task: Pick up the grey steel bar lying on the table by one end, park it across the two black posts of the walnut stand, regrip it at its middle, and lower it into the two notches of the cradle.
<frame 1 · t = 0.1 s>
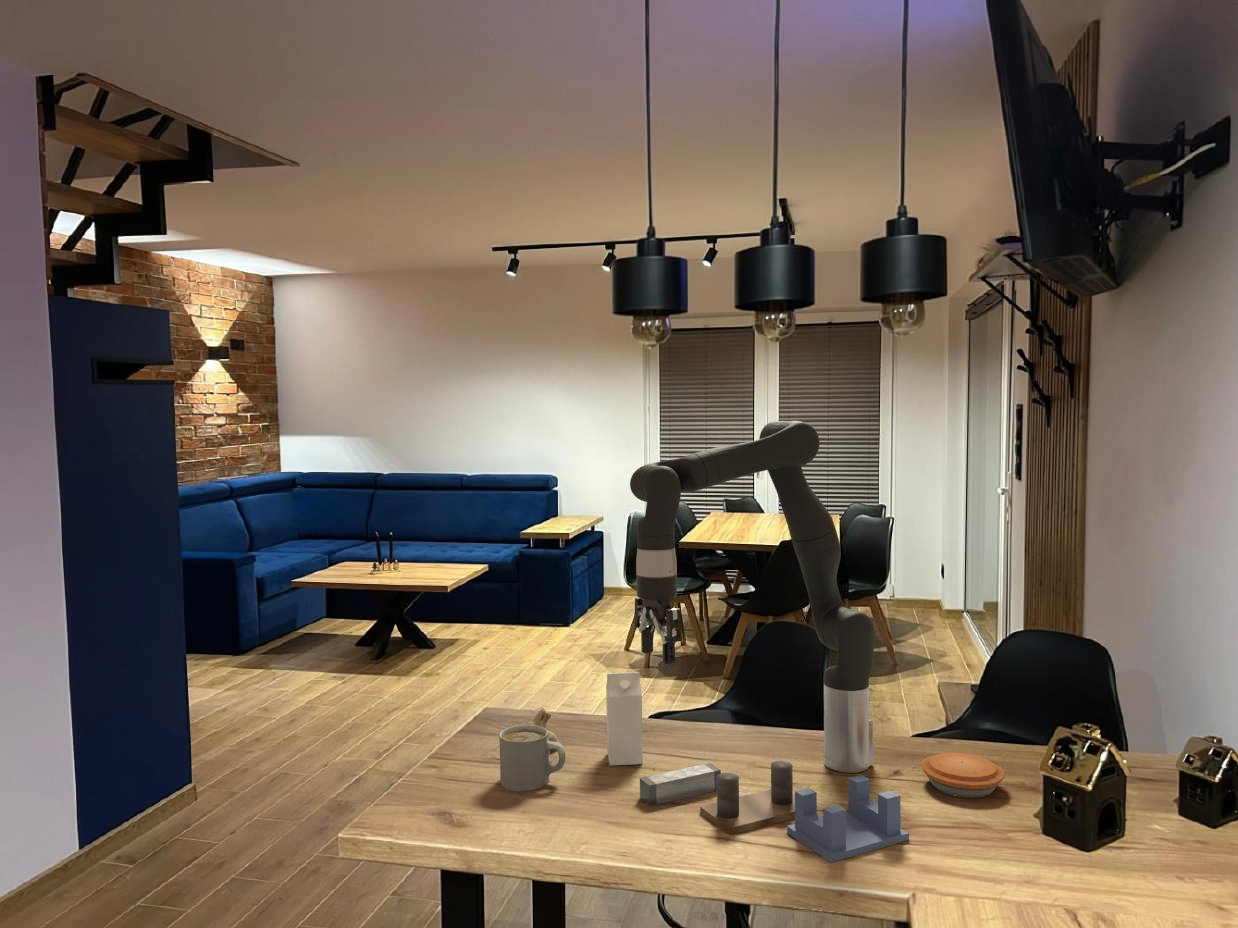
hand: (657, 657, 165), 29 cm above the table, tool pointing down, fingers open, 8 cm apart
steel bar: (680, 793, 173), on the table
milk carton: (624, 759, 191), on the table
pie: (962, 787, 174), on the table
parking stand: (755, 812, 164), on the table
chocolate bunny: (543, 751, 196), on the table
notched cradle: (847, 835, 154), on the table
coffee mug: (532, 782, 179), on the table
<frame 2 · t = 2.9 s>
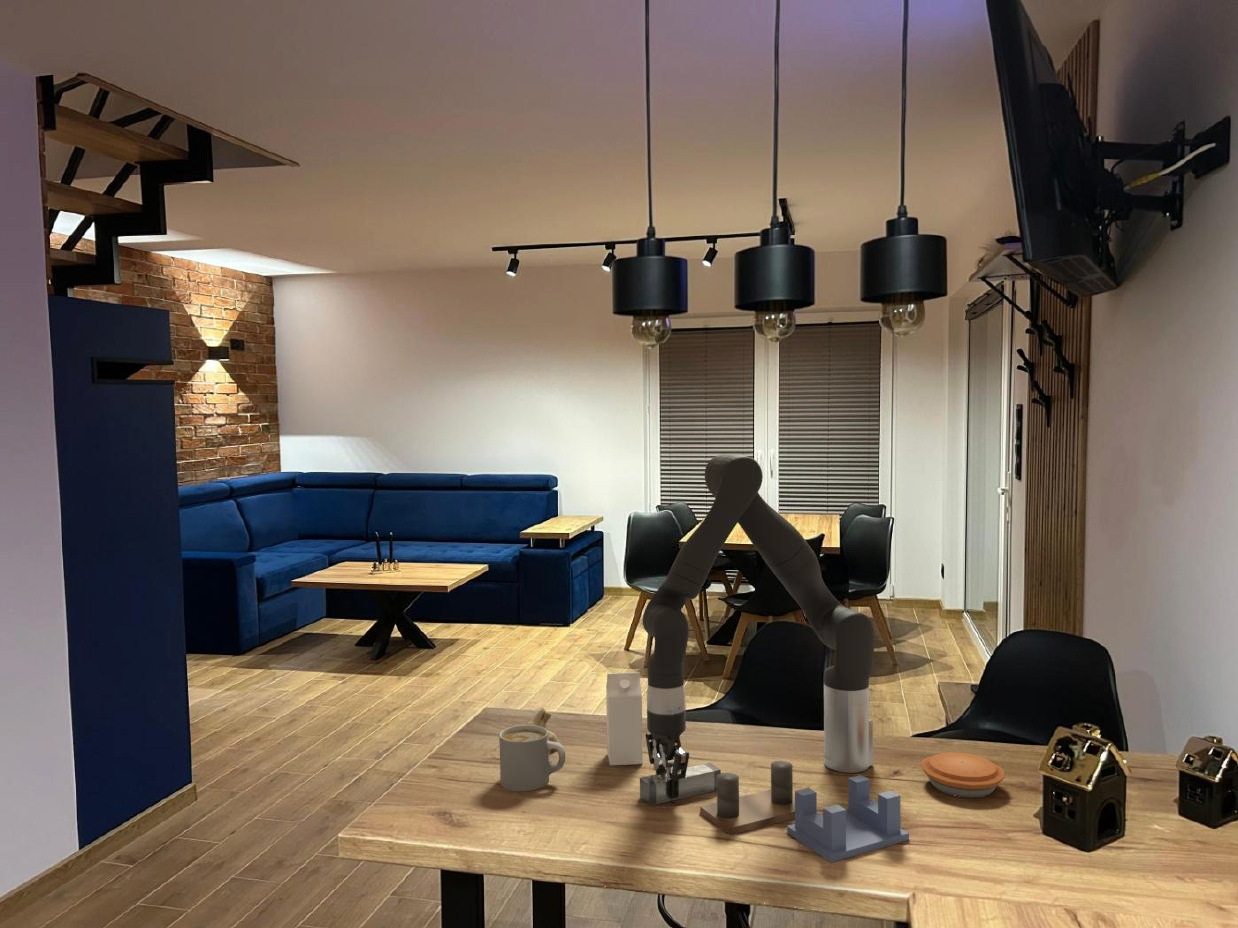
hand: (667, 792, 171), 1 cm above the table, tool pointing down, fingers closed on steel bar, 4 cm apart
steel bar: (680, 793, 173), on the table, touching gripper
everything else where it was.
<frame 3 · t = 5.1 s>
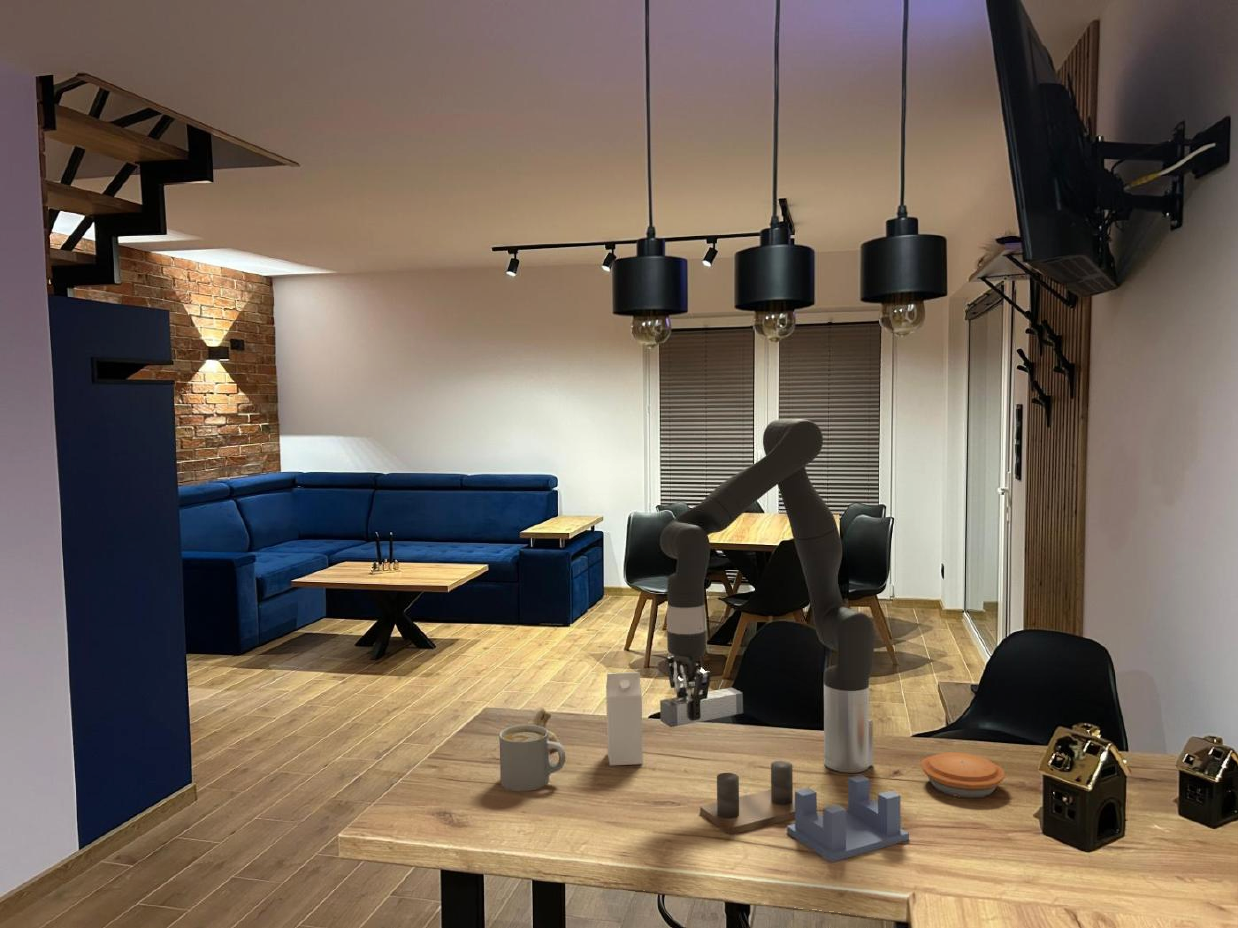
hand: (688, 715, 168), 17 cm above the table, tool pointing down, fingers closed on steel bar, 4 cm apart
steel bar: (702, 716, 170), point 16 cm above the table, touching gripper
everything else where it was.
when the fingers open (10 cm above the table, at t = 7.4 s): steel bar drops 1 cm, resting on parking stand.
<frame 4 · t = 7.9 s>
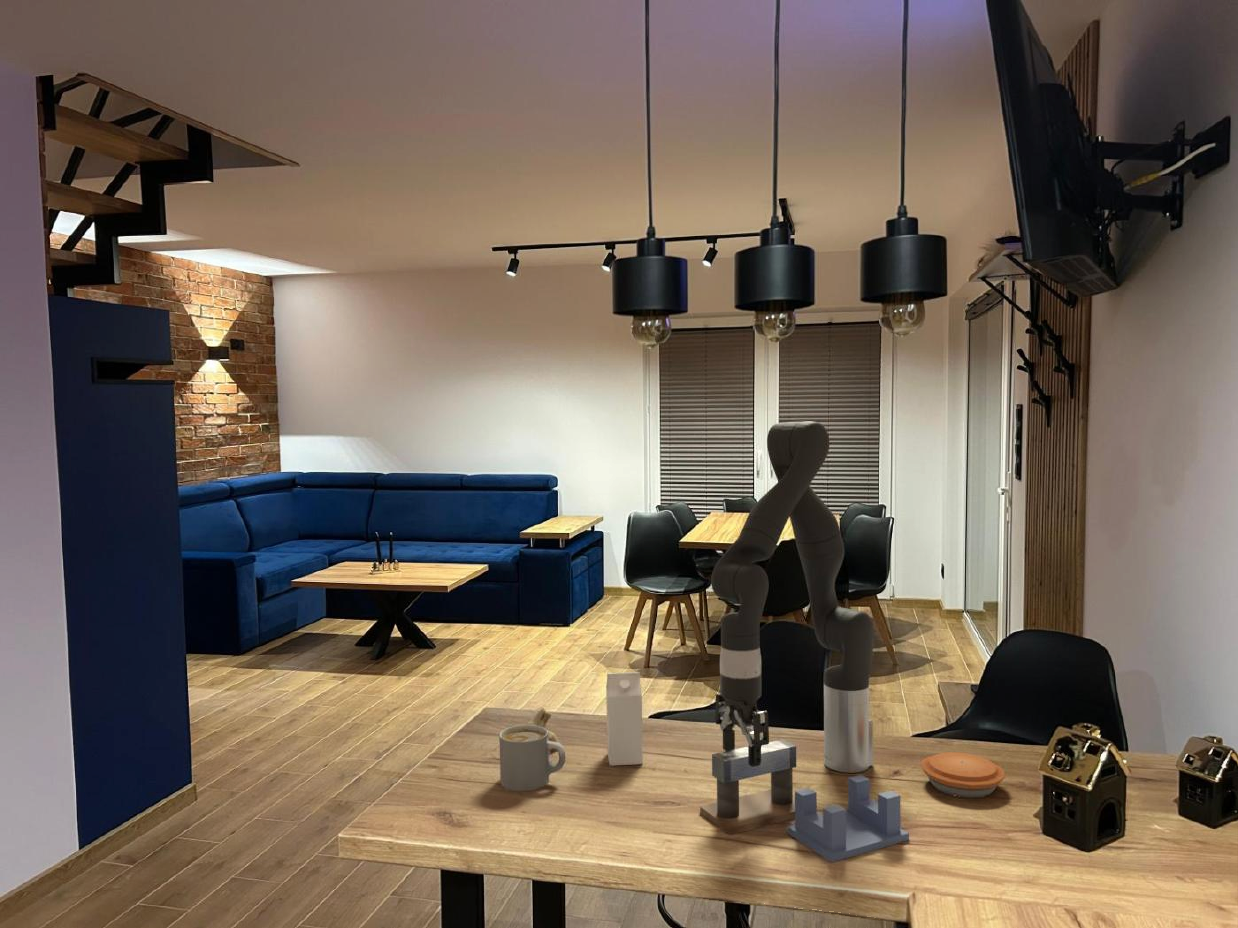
hand: (741, 757, 162), 11 cm above the table, tool pointing down, fingers open, 8 cm apart
steel bar: (754, 771, 163), point 8 cm above the table, touching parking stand
everything else where it was.
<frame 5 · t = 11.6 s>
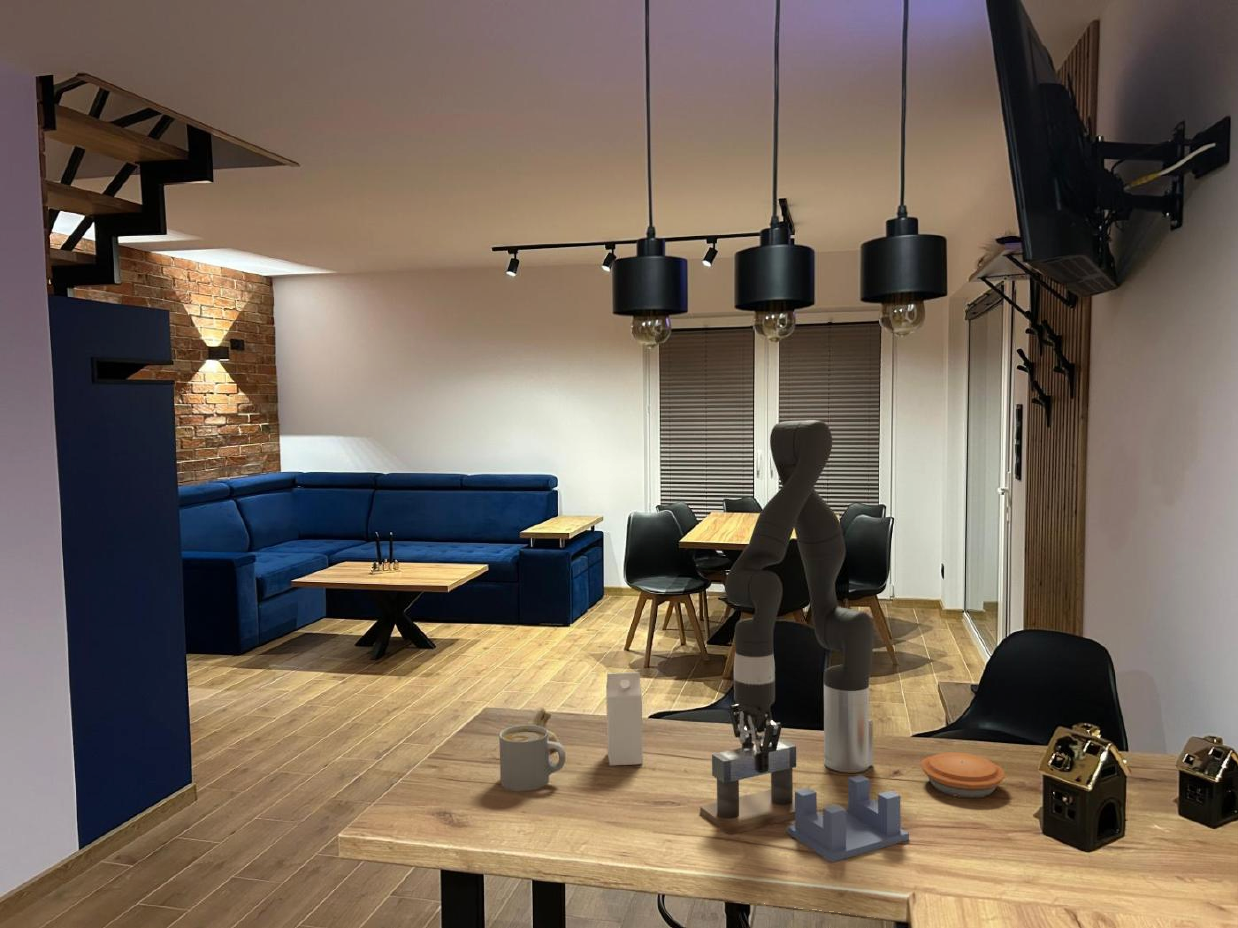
hand: (755, 766, 163), 9 cm above the table, tool pointing down, fingers closed on steel bar, 4 cm apart
steel bar: (754, 771, 163), point 8 cm above the table, touching gripper, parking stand
everything else where it was.
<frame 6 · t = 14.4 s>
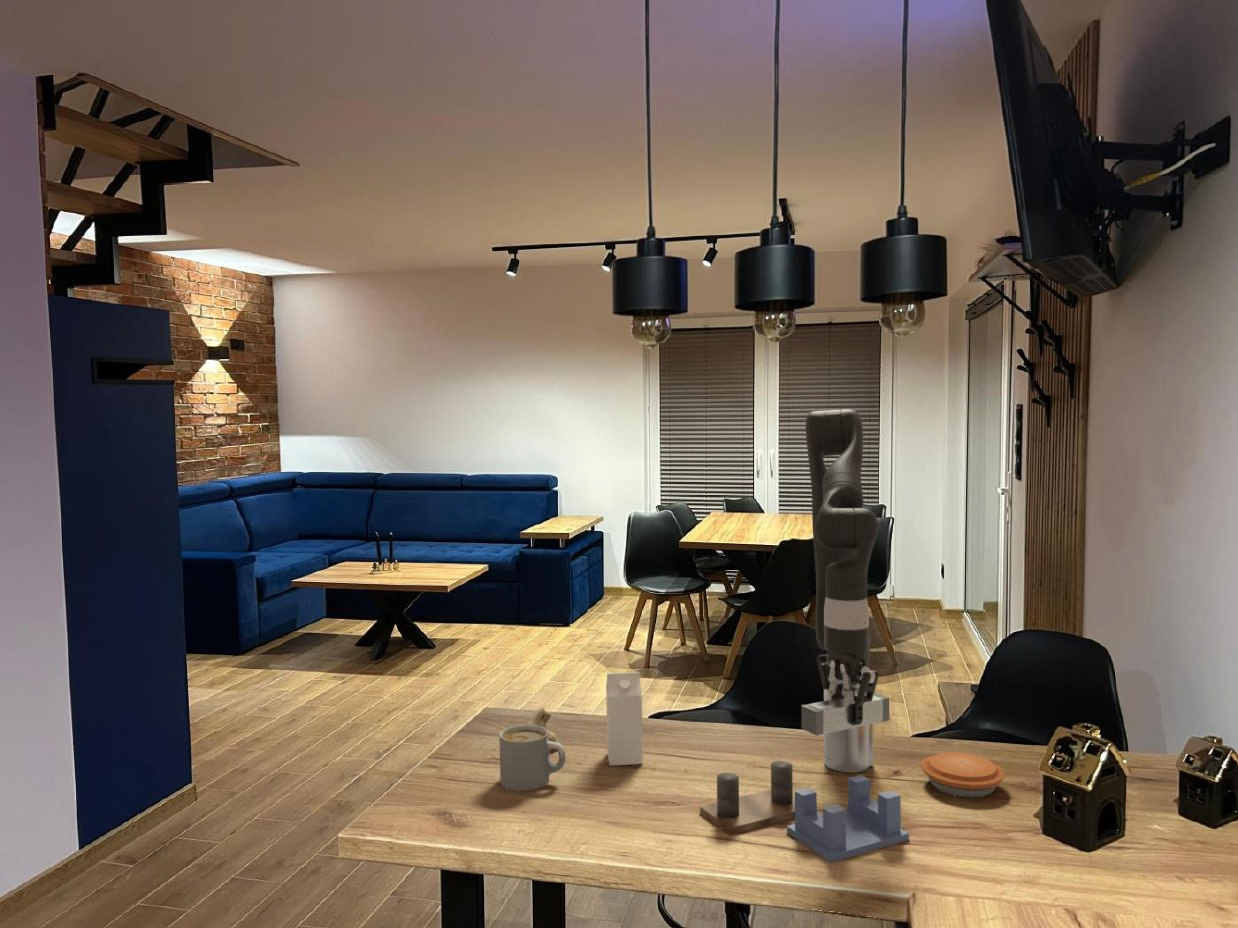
hand: (846, 719, 153), 21 cm above the table, tool pointing down, fingers closed on steel bar, 4 cm apart
steel bar: (845, 724, 153), point 20 cm above the table, touching gripper
everything else where it was.
when the fingers open (6 cm above the table, at t = 17.3 s): steel bar drops 1 cm, resting on notched cradle.
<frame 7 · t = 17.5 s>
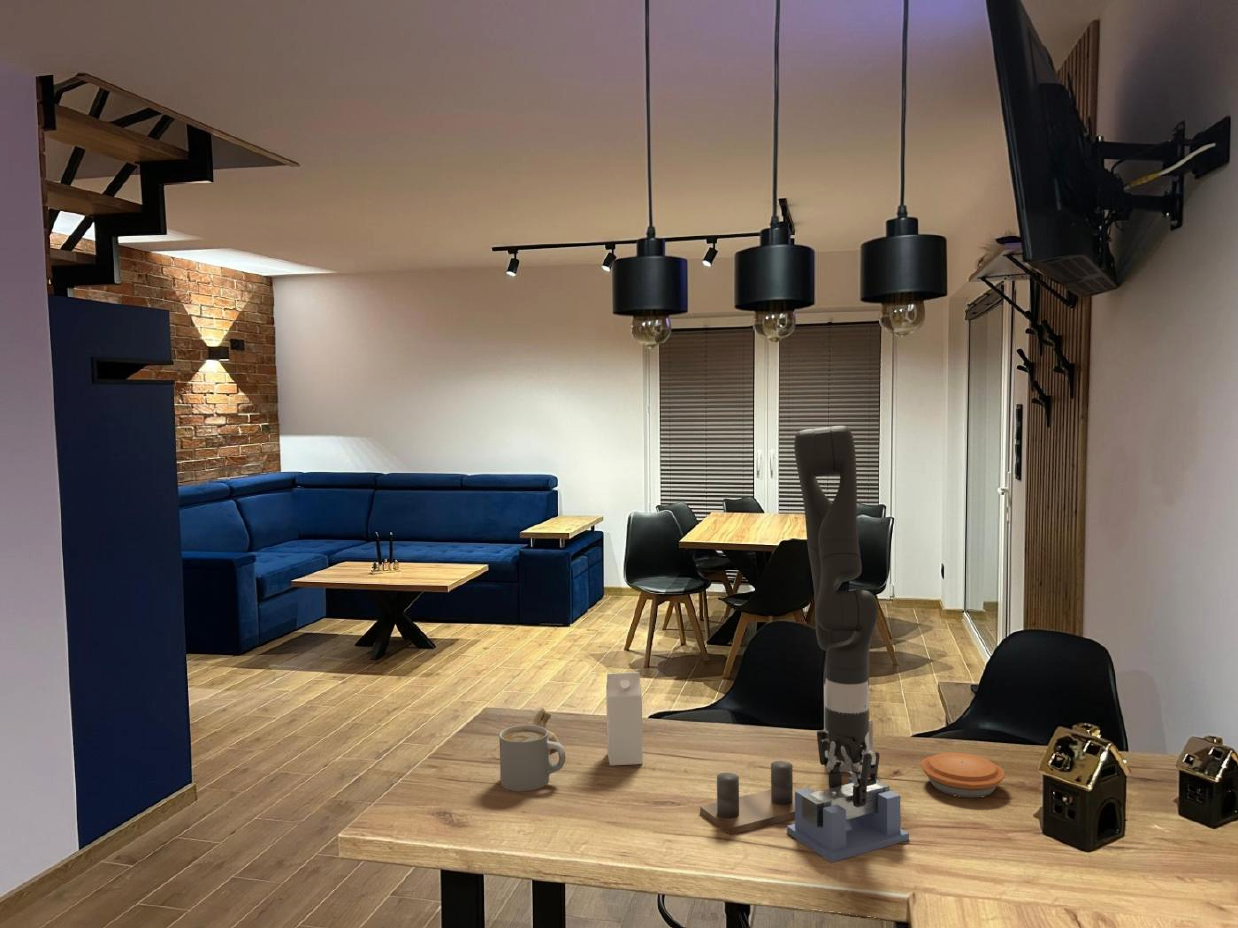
hand: (847, 798, 154), 7 cm above the table, tool pointing down, fingers open, 5 cm apart
steel bar: (846, 812, 154), point 4 cm above the table, touching notched cradle
everything else where it was.
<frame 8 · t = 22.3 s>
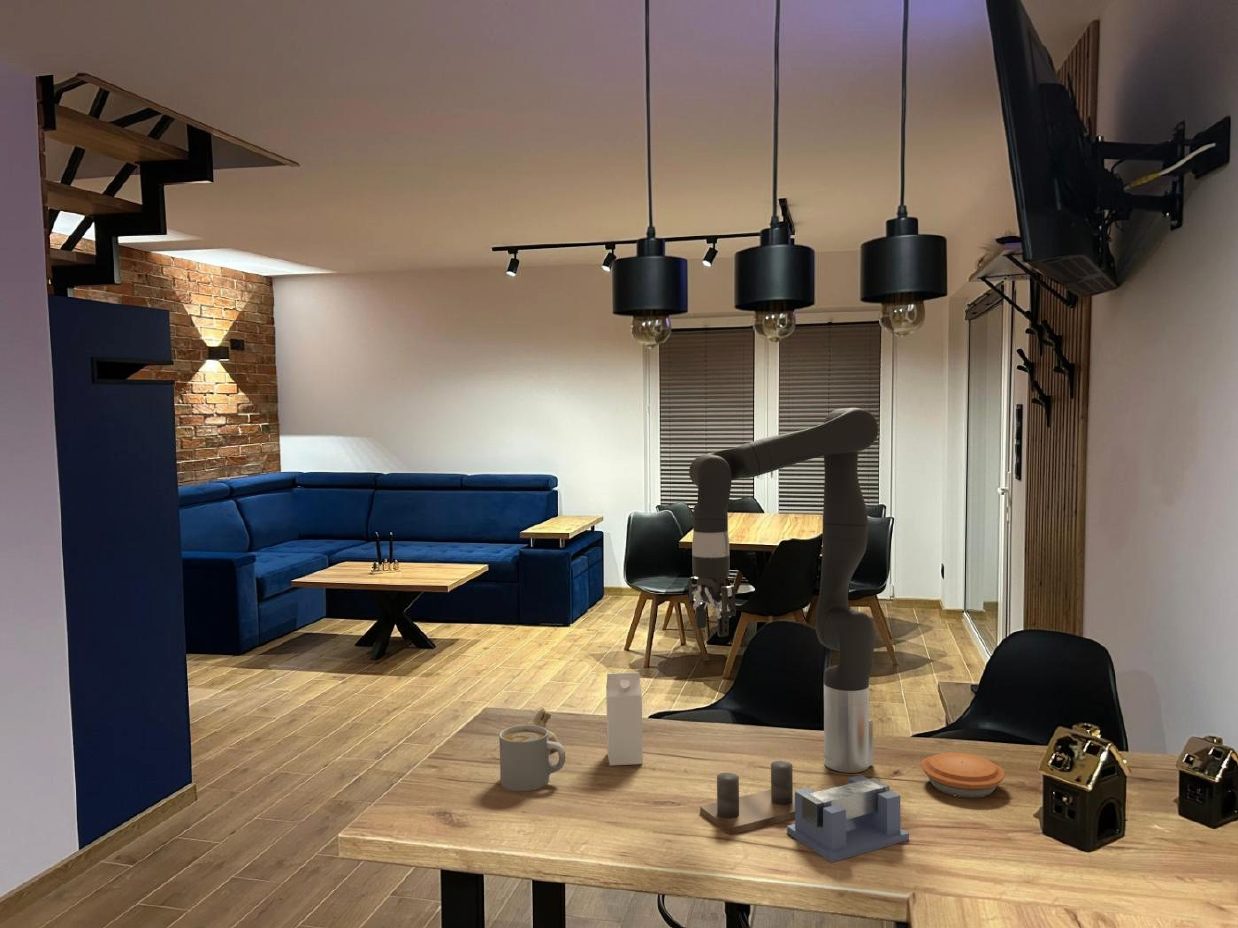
hand: (711, 631, 179), 30 cm above the table, tool pointing down, fingers open, 8 cm apart
nothing on the table moved.
at the end: steel bar 0.2 cm off-centre on the notched cradle, point 4.2 cm above the notched cradle's base; steel bar tilted 0°; the gripper is holding nothing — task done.
